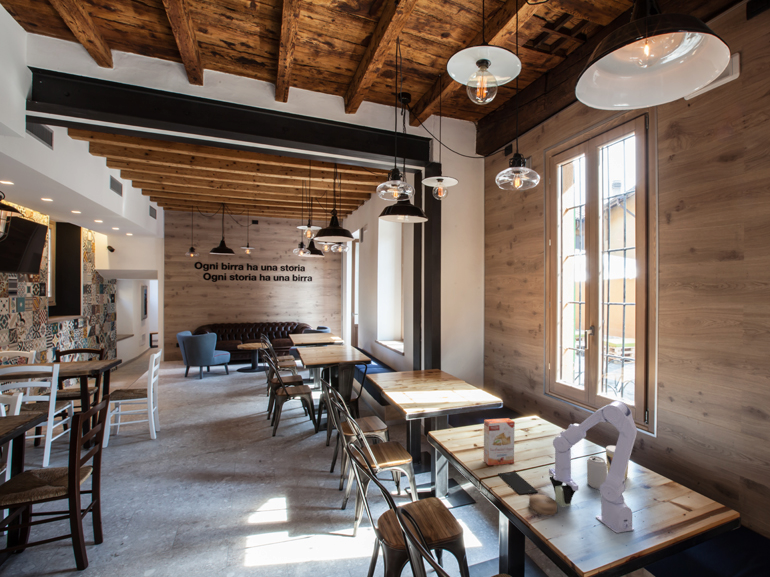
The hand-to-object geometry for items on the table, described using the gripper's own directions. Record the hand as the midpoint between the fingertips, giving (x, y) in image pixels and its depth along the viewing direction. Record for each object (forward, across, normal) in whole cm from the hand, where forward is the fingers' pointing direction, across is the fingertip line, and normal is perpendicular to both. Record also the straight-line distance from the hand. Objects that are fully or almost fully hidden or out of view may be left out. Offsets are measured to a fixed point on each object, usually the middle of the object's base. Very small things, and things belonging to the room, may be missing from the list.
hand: (562, 499), depth 147 cm
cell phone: (+2, -18, -9) cm, 20 cm away
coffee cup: (+2, -14, +41) cm, 43 cm away
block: (+2, 0, 0) cm, 2 cm away
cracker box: (+2, -38, -6) cm, 39 cm away
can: (+2, -8, +24) cm, 25 cm away
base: (+1, +1, -10) cm, 10 cm away
